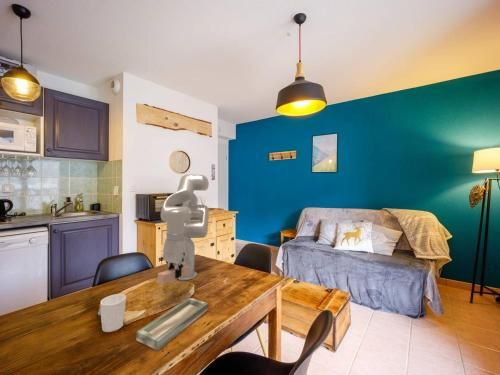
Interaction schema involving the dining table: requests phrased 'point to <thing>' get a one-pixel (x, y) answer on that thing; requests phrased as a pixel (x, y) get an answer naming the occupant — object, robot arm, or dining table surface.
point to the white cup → (112, 312)
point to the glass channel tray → (171, 323)
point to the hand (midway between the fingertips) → (174, 275)
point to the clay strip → (171, 275)
